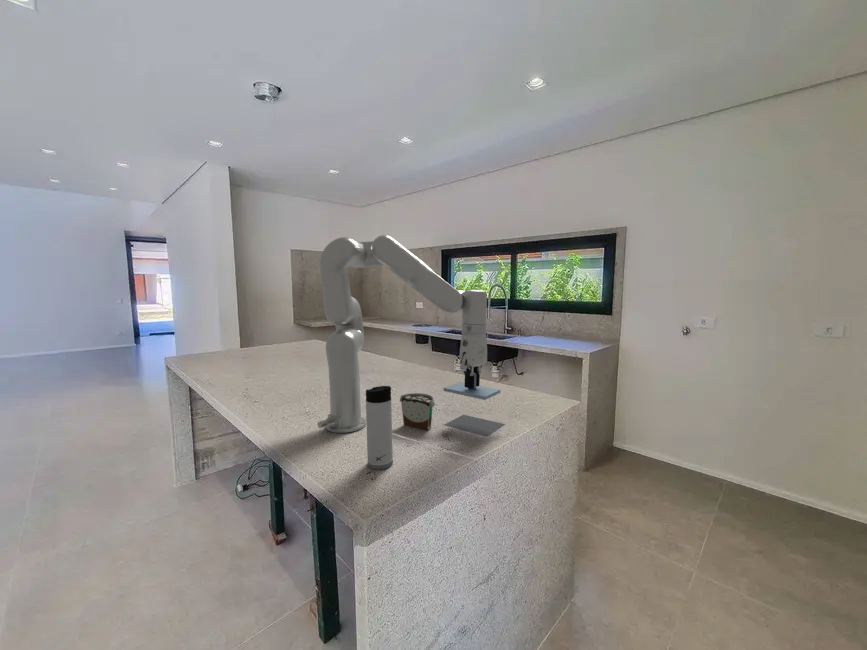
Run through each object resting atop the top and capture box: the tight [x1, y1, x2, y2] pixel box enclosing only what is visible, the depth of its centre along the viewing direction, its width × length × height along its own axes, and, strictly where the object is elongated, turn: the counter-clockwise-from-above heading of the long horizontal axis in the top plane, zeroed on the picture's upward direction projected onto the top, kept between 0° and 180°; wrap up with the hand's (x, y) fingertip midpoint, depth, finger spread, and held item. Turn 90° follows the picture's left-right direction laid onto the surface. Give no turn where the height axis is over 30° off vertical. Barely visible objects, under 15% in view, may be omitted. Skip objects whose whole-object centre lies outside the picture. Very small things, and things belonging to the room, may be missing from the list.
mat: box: [443, 414, 506, 437], centre depth 115 cm, size 12×16×1 cm
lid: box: [443, 373, 501, 401], centre depth 114 cm, size 10×15×6 cm, turn 53°
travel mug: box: [365, 385, 394, 471], centre depth 89 cm, size 6×7×20 cm
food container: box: [399, 392, 436, 432], centre depth 115 cm, size 12×6×10 cm, turn 58°
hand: (471, 386), depth 114 cm, fingers closed on lid, 2 cm apart
